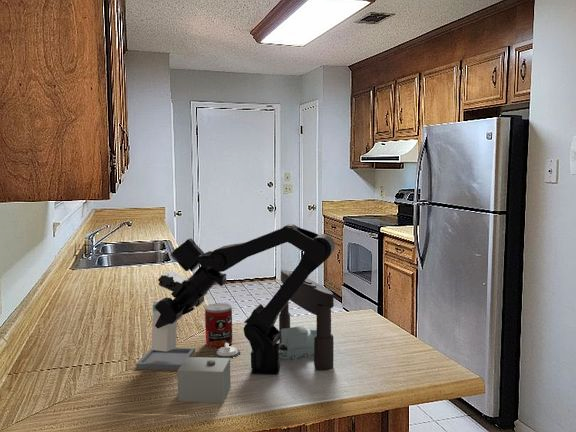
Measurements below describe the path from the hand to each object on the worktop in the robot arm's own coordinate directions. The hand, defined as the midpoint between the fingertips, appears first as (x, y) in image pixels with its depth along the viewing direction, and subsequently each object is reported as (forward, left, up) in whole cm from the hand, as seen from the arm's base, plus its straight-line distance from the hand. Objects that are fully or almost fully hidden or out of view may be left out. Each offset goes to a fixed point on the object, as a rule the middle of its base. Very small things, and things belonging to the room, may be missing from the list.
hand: (161, 324), depth 135 cm
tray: (-1, 0, -10) cm, 10 cm away
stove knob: (-16, -6, -11) cm, 20 cm away
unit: (-16, +19, -10) cm, 27 cm away
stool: (-37, -8, -10) cm, 40 cm away
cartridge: (-1, +1, -6) cm, 6 cm away
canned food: (-12, -14, -10) cm, 21 cm away
